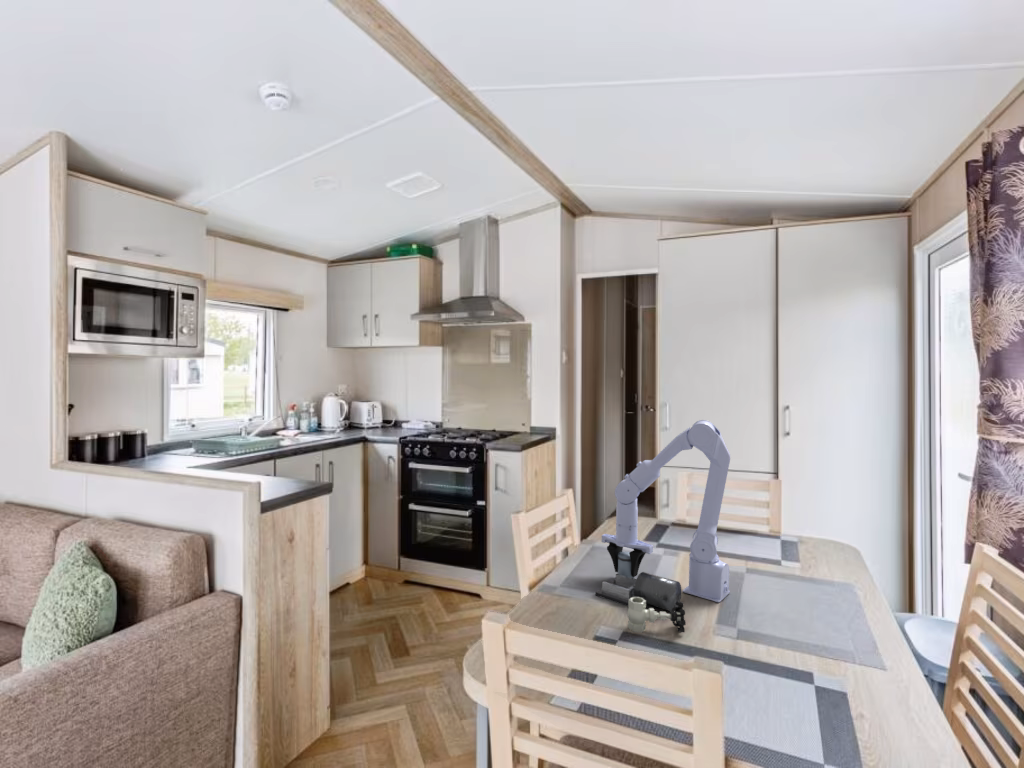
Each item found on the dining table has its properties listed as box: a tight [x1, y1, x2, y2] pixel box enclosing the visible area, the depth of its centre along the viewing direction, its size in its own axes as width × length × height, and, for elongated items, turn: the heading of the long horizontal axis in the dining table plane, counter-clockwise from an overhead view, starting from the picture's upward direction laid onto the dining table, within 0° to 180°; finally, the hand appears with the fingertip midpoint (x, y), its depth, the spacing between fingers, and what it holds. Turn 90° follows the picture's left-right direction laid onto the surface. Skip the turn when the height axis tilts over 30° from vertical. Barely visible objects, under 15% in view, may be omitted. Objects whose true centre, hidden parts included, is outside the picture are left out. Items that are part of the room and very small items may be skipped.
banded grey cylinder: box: [617, 551, 635, 579], centre depth 149 cm, size 5×5×7 cm
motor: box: [595, 571, 683, 612], centre depth 137 cm, size 19×10×7 cm, turn 50°
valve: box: [626, 597, 687, 633], centre depth 122 cm, size 7×7×12 cm
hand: (626, 573), depth 149 cm, fingers closed on banded grey cylinder, 4 cm apart
